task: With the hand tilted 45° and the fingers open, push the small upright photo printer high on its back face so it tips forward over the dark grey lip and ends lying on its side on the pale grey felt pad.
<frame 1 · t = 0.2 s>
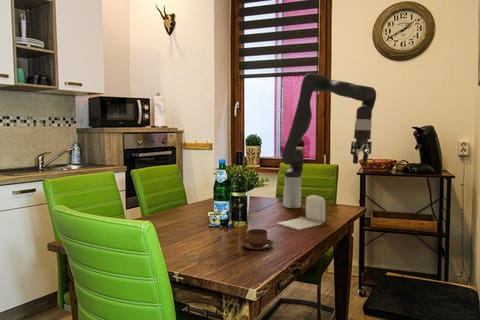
hand: (360, 163, 192), 28 cm above the table, tool pointing down, fingers open, 8 cm apart
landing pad: (299, 224, 189), on the table
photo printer: (315, 221, 196), on the table
cup and saucer: (257, 247, 155), on the table
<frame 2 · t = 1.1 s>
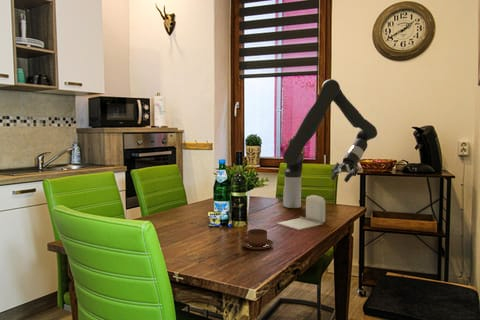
hand: (338, 180, 205), 18 cm above the table, tool tilted 45°, fingers open, 8 cm apart
nothing on the table moved.
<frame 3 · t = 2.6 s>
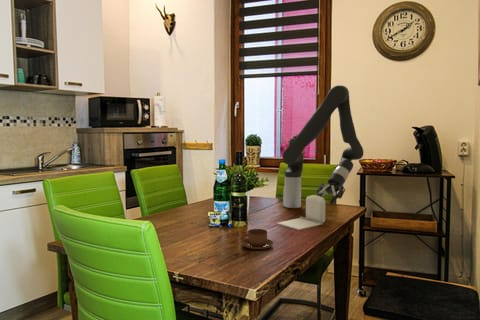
hand: (323, 202, 199), 8 cm above the table, tool tilted 45°, fingers open, 8 cm apart
nothing on the table moved.
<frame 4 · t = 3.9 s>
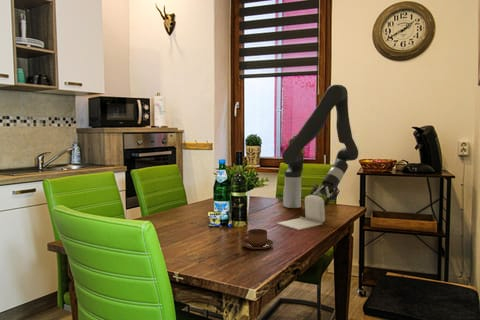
hand: (317, 203, 196), 8 cm above the table, tool tilted 45°, fingers open, 8 cm apart
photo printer: (315, 220, 196), on the table, touching gripper
everything else where it was.
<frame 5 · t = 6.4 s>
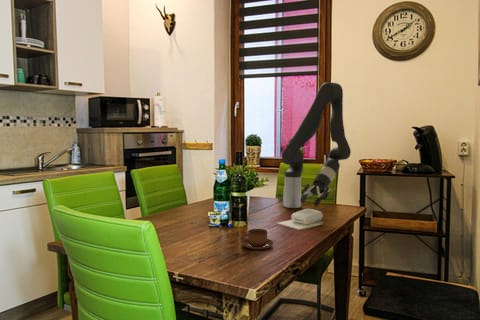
hand: (308, 203, 192), 9 cm above the table, tool tilted 45°, fingers open, 8 cm apart
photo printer: (314, 213, 195), point 4 cm above the table, touching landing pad
everything else where it was.
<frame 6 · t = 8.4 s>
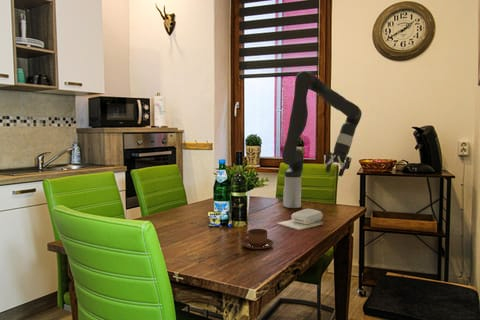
hand: (333, 174, 205), 21 cm above the table, tool tilted 20°, fingers open, 8 cm apart
nothing on the table moved.
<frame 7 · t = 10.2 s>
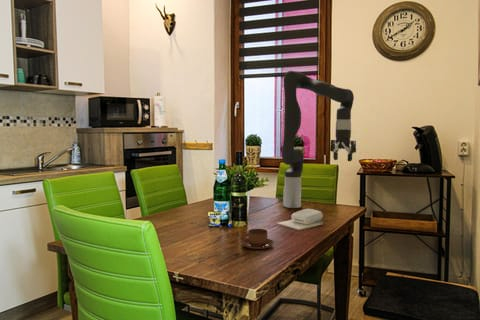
hand: (342, 160, 206), 28 cm above the table, tool pointing down, fingers open, 8 cm apart
nothing on the table moved.
at the end: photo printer tilted 96°; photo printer touching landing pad; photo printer inside the target area (7.0 cm from its centre), point 3.7 cm above the table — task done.
